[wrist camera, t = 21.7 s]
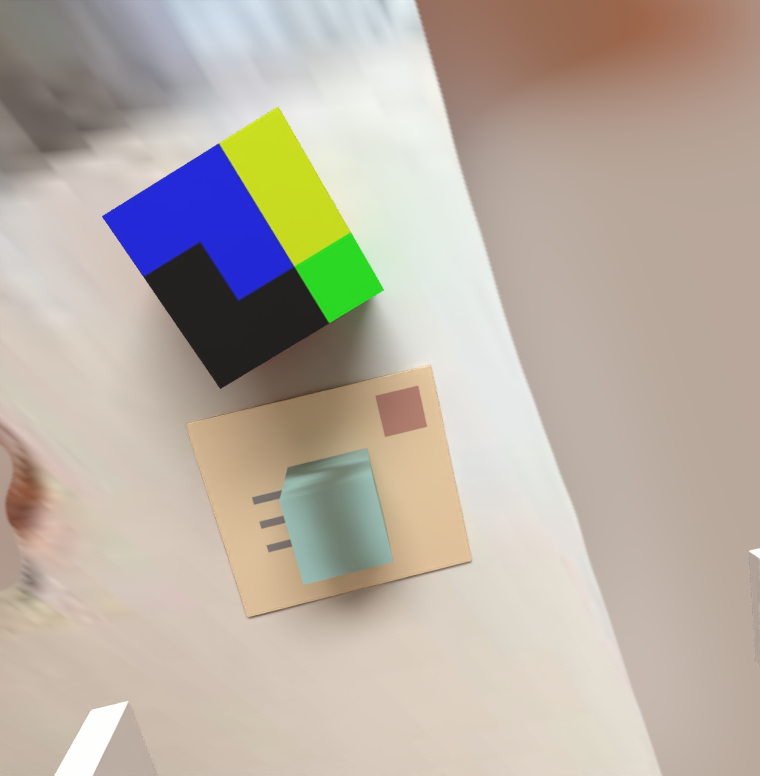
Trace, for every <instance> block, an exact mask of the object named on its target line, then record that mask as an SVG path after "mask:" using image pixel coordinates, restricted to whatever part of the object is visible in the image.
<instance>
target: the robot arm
mask: <svg viewBox="0 0 760 776" xmlns="http://www.w3.org/2000/svg"><path fill="white" fill-rule="evenodd" d="M749 565H750V581H751V597H752V613H753V630H754V645H755V661H756V662H757V663H758V664H759V665H760V548H759V549H755V550H751V551H749ZM55 776H158V775H157V773H156V770H155V768H154V765H153V762H152V760H151V757H150V755H149V752H148V749H147V747H146V744H145V742H144V739H143V736H142V734H141V731H140V729H139V726H138V723H137V721H136V718H135V716H134V713H133V710H132V708H131V705H130V703H129V701H126V702H122V703H118V704H114V705H110V706H105V707H101V708H97V709H93V710H91V711H90V713H89V715H88V717H87V718H86V720H85V722H84V724H83V726H82V727H81V729H80V731H79V733H78V735H77V736H76V738H75V740H74V742H73V743H72V745H71V747H70V749H69V751H68V752H67V754H66V756H65V758H64V759H63V761H62V763H61V765H60V767H59V768H58V770H57V772H56V774H55Z"/></svg>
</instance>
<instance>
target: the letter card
mask: <svg viewBox="0 0 760 776" xmlns="http://www.w3.org/2000/svg"><path fill="white" fill-rule="evenodd" d="M186 428H187V431H188V434H189V437H190V441H191V444H192V447H193V450H194V453H195V456H196V459H197V462H198V465H199V468H200V471H201V475H202V478H203V481H204V484H205V487H206V490H207V493H208V496H209V499H210V502H211V505H212V509H213V512H214V515H215V518H216V521H217V524H218V527H219V530H220V533H221V536H222V539H223V542H224V546H225V549H226V552H227V555H228V558H229V561H230V564H231V567H232V570H233V573H234V576H235V580H236V583H237V586H238V589H239V592H240V595H241V598H242V601H243V604H244V607H245V610H246V614H247V617H251V616H255V615H259V614H263V613H267V612H271V611H275V610H279V609H283V608H287V607H291V606H294V605H298V604H302V603H306V602H310V601H314V600H318V599H322V598H326V597H330V596H334V595H338V594H342V593H346V592H350V591H354V590H358V589H362V588H366V587H370V586H374V585H378V584H382V583H385V582H389V581H393V580H397V579H401V578H405V577H409V576H413V575H417V574H421V573H425V572H429V571H433V570H437V569H441V568H445V567H449V566H453V565H457V564H461V563H465V562H469V561H472V559H471V555H470V550H469V545H468V540H467V536H466V531H465V526H464V521H463V516H462V512H461V507H460V502H459V497H458V493H457V488H456V483H455V478H454V473H453V469H452V464H451V459H450V454H449V449H448V445H447V440H446V435H445V430H444V426H443V421H442V416H441V411H440V406H439V402H438V397H437V392H436V387H435V383H434V378H433V373H432V368H431V365H428V366H424V367H420V368H416V369H412V370H408V371H403V372H399V373H395V374H391V375H387V376H383V377H378V378H374V379H370V380H366V381H362V382H358V383H353V384H349V385H345V386H341V387H337V388H333V389H328V390H324V391H320V392H316V393H312V394H308V395H303V396H299V397H295V398H291V399H287V400H283V401H279V402H274V403H270V404H266V405H262V406H258V407H254V408H249V409H245V410H241V411H237V412H233V413H229V414H224V415H220V416H216V417H212V418H208V419H204V420H199V421H195V422H191V423H187V424H186ZM365 448H367V449H368V453H369V458H370V462H371V466H372V470H373V474H374V478H375V482H376V486H377V490H378V494H379V498H380V502H381V506H382V510H383V515H384V519H385V523H386V528H387V533H388V538H389V543H390V548H391V553H392V558H393V562H392V563H388V564H384V565H380V566H376V567H372V568H368V569H364V570H360V571H356V572H352V573H349V574H345V575H341V576H337V577H333V578H329V579H325V580H321V581H317V582H313V583H309V584H305V585H304V584H303V581H302V578H301V574H300V571H299V567H298V564H297V560H296V557H295V554H294V550H293V547H292V543H291V540H290V536H289V533H288V530H287V526H286V523H285V519H284V516H283V513H282V509H281V506H280V502H279V500H280V496H281V492H282V488H283V484H284V480H285V476H286V472H287V468H288V467H291V466H295V465H299V464H304V463H308V462H312V461H316V460H320V459H324V458H328V457H332V456H336V455H340V454H344V453H349V452H353V451H357V450H361V449H365Z"/></svg>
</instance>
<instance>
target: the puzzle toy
mask: <svg viewBox="0 0 760 776" xmlns="http://www.w3.org/2000/svg"><path fill="white" fill-rule="evenodd" d="M102 217H103V219H104V220H105V222H106V223H107V224H108V226H109V227H110V229H111V230H112V232H113V233H114V235H115V236H116V238H117V239H118V240H119V242H120V243H121V245H122V246H123V248H124V249H125V251H126V252H127V254H128V255H129V256H130V258H131V259H132V261H133V262H134V264H135V265H136V267H137V268H138V270H139V271H140V272H141V274H142V275H143V277H144V278H145V280H146V281H147V283H148V284H149V286H150V287H151V289H152V290H153V291H154V293H155V294H156V296H157V297H158V299H159V300H160V302H161V303H162V305H163V306H164V307H165V309H166V310H167V312H168V313H169V315H170V316H171V318H172V319H173V321H174V322H175V323H176V325H177V326H178V328H179V329H180V331H181V332H182V334H183V335H184V337H185V338H186V340H187V341H188V342H189V344H190V345H191V347H192V348H193V350H194V351H195V353H196V354H197V356H198V357H199V358H200V360H201V361H202V363H203V364H204V366H205V367H206V369H207V370H208V372H209V373H210V374H211V376H212V377H213V379H214V380H215V382H216V383H217V385H218V386H219V388H220V389H221V388H223V387H224V386H226V385H228V384H229V383H231V382H233V381H234V380H236V379H238V378H239V377H241V376H243V375H244V374H246V373H248V372H249V371H251V370H253V369H254V368H256V367H258V366H259V365H261V364H262V363H264V362H266V361H267V360H269V359H271V358H272V357H274V356H276V355H277V354H279V353H281V352H282V351H284V350H286V349H287V348H289V347H291V346H292V345H294V344H296V343H297V342H299V341H301V340H302V339H304V338H306V337H307V336H309V335H311V334H312V333H314V332H316V331H317V330H319V329H321V328H322V327H324V326H325V325H327V324H329V323H330V322H332V321H334V320H335V319H337V318H339V317H340V316H342V315H344V314H345V313H347V312H349V311H350V310H352V309H354V308H355V307H357V306H359V305H360V304H362V303H364V302H365V301H367V300H369V299H370V298H372V297H374V296H375V295H377V294H379V293H380V292H382V291H384V289H383V287H382V285H381V284H380V282H379V280H378V279H377V277H376V275H375V273H374V272H373V270H372V268H371V266H370V265H369V263H368V261H367V259H366V258H365V256H364V254H363V253H362V251H361V249H360V247H359V246H358V244H357V242H356V240H355V239H354V237H353V235H352V233H351V232H350V230H349V228H348V226H347V225H346V223H345V221H344V220H343V218H342V216H341V214H340V213H339V211H338V209H337V207H336V206H335V204H334V202H333V200H332V199H331V197H330V195H329V194H328V192H327V190H326V188H325V187H324V185H323V183H322V181H321V180H320V178H319V176H318V174H317V173H316V171H315V169H314V168H313V166H312V164H311V162H310V161H309V159H308V157H307V155H306V154H305V152H304V150H303V148H302V147H301V145H300V143H299V142H298V140H297V138H296V136H295V135H294V133H293V131H292V129H291V128H290V126H289V124H288V122H287V121H286V119H285V117H284V116H283V114H282V112H281V110H280V109H279V107H276V108H275V109H273V110H272V111H270V112H268V113H267V114H265V115H264V116H262V117H260V118H259V119H257V120H256V121H254V122H252V123H251V124H249V125H248V126H246V127H244V128H243V129H241V130H240V131H238V132H236V133H235V134H233V135H232V136H230V137H228V138H227V139H225V140H224V141H222V142H220V143H219V144H217V145H216V146H214V147H212V148H211V149H209V150H208V151H206V152H204V153H203V154H201V155H200V156H198V157H196V158H195V159H193V160H192V161H190V162H188V163H187V164H185V165H184V166H182V167H180V168H179V169H177V170H176V171H174V172H172V173H171V174H169V175H167V176H166V177H164V178H163V179H161V180H159V181H158V182H156V183H155V184H153V185H151V186H150V187H148V188H147V189H145V190H143V191H142V192H140V193H139V194H137V195H135V196H134V197H132V198H131V199H129V200H127V201H126V202H124V203H123V204H121V205H119V206H118V207H116V208H115V209H113V210H111V211H110V212H108V213H107V214H105V215H103V216H102Z"/></svg>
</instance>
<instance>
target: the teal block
mask: <svg viewBox="0 0 760 776" xmlns="http://www.w3.org/2000/svg"><path fill="white" fill-rule="evenodd" d="M279 502H280V506H281V509H282V513H283V516H284V519H285V523H286V526H287V530H288V533H289V536H290V540H291V543H292V547H293V550H294V554H295V557H296V560H297V564H298V567H299V571H300V574H301V578H302V581H303V584H304V585H305V584H309V583H313V582H317V581H321V580H325V579H329V578H333V577H337V576H341V575H345V574H349V573H352V572H356V571H360V570H364V569H368V568H372V567H376V566H380V565H384V564H388V563H392V562H393V558H392V553H391V548H390V543H389V538H388V533H387V528H386V523H385V519H384V515H383V510H382V506H381V502H380V498H379V494H378V490H377V486H376V482H375V478H374V474H373V470H372V466H371V462H370V458H369V453H368V449H367V448H365V449H361V450H357V451H353V452H349V453H344V454H340V455H336V456H332V457H328V458H324V459H320V460H316V461H312V462H308V463H304V464H299V465H295V466H291V467H288V468H287V472H286V476H285V480H284V484H283V488H282V492H281V496H280V500H279Z"/></svg>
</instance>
